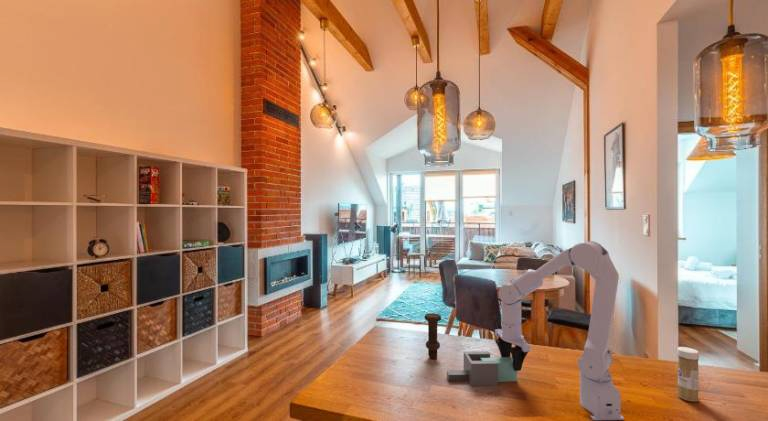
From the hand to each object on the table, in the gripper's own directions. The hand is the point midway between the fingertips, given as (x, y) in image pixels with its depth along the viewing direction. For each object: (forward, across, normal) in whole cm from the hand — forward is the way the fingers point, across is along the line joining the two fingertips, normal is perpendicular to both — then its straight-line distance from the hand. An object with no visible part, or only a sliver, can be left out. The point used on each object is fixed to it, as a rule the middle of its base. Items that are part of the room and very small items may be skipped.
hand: (511, 366), depth 109 cm
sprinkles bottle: (+4, -24, -39) cm, 46 cm away
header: (+4, +3, +10) cm, 10 cm away
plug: (+4, +1, +4) cm, 6 cm away
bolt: (+4, +21, +17) cm, 27 cm away
